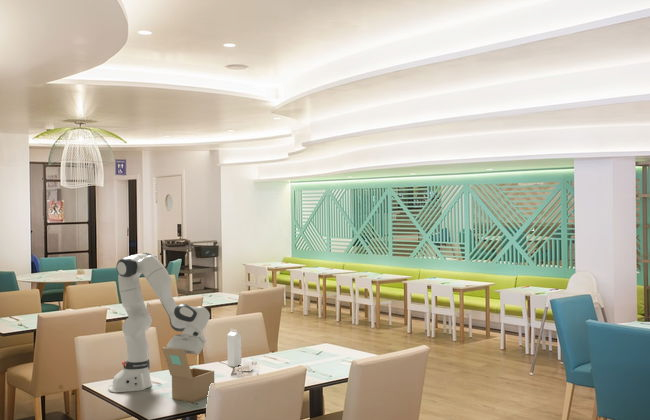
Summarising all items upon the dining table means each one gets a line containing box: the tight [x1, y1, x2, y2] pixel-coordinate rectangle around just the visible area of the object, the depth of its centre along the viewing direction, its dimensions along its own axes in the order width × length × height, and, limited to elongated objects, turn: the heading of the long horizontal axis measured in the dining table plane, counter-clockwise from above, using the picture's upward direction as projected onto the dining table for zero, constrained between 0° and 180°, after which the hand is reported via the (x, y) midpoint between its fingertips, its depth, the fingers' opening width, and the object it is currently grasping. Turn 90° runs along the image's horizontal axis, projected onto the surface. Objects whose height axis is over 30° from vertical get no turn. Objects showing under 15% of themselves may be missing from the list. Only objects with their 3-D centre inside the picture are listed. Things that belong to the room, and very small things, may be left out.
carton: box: [171, 367, 215, 403], centre depth 330 cm, size 16×14×12 cm
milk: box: [226, 328, 242, 368], centre depth 394 cm, size 6×6×22 cm
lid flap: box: [161, 347, 193, 379], centre depth 320 cm, size 16×14×1 cm
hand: (177, 359), depth 320 cm, fingers closed, pressing on lid flap
